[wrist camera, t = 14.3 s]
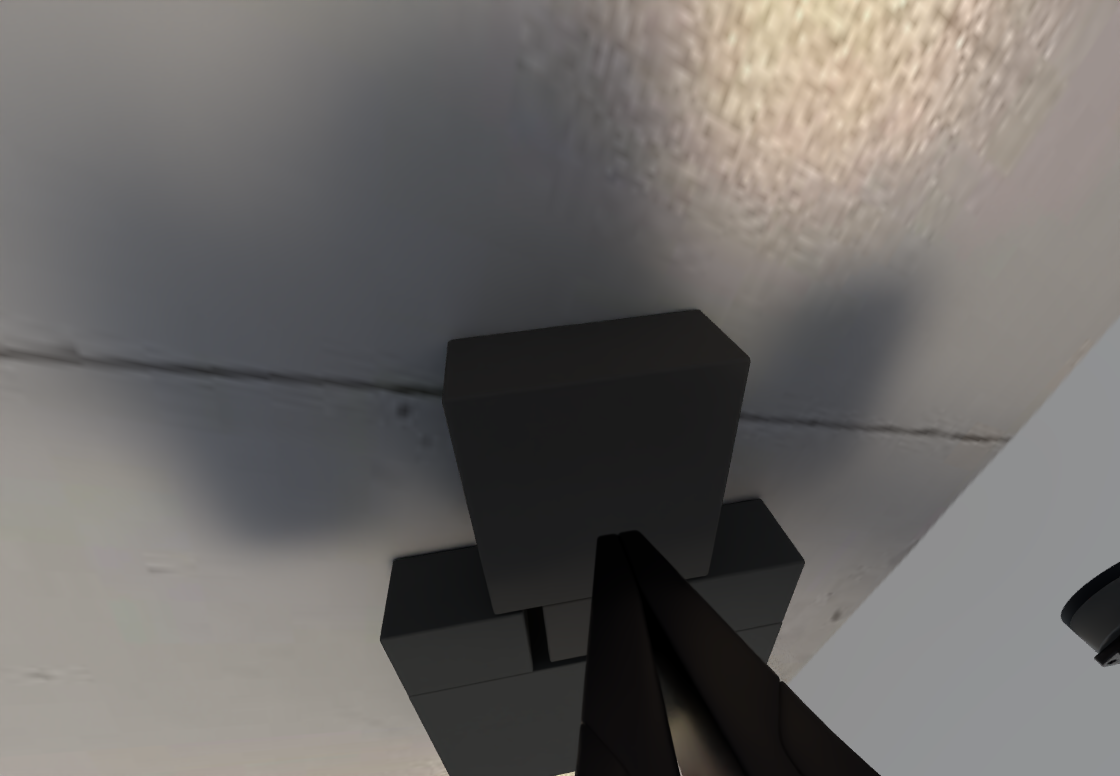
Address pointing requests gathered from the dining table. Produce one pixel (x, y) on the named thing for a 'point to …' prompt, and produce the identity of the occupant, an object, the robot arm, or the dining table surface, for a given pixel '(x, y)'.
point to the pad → (591, 452)
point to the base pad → (522, 651)
